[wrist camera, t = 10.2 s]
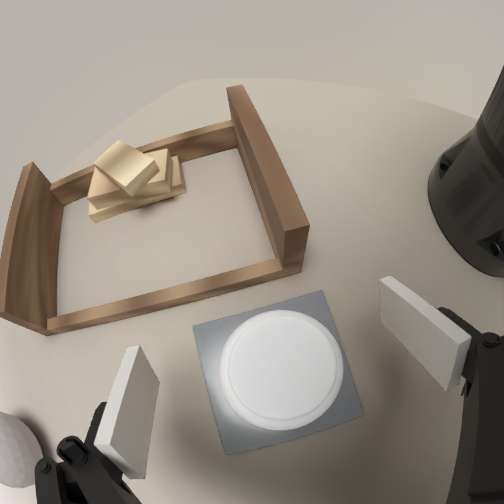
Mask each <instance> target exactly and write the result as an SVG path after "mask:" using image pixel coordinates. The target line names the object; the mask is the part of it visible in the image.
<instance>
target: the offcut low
mask: <svg viewBox="0 0 504 504" xmlns="http://www.w3.org/2000/svg"><path fill="white" fill-rule="evenodd" d="M171 158H172V161H173V173H172V193H171V194H166V195H161V196H156V197H151V198H147V199H142V200H137V201H133V202H128V203H124V204H119V205H115V206H111V207H106V208H102V209H98V210H97V209H96V208H95V207H94V206H93V205H92V203H91V202H90V203H89V217H90V218H91V219H92V220H93V221H94V222H95V223H97V222H99V221H102V220H105V219H107V218H110V217H113V216H116V215H119V214H122V213H124V212H127V211H130V210H133V209H136V208H139V207H142V206H145V205H148V204H151V203H154V202H158V201H161V200H164V199H167V198H170V197H174V196H177V195H180V194H183V193H185V187H184V181H183V175H182V168H181V164H180V161H179V158H178V156H174V157H171Z"/></svg>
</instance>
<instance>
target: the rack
mask: <svg viewBox="0 0 504 504" xmlns="http://www.w3.org/2000/svg"><path fill="white" fill-rule="evenodd" d="M226 89H227V95H228V101H229V107H230V113H231V119H232V120H230V121H226V122H222V123H218V124H214V125H210V126H206V127H202V128H199V129H195V130H191V131H188V132H185V133H181V134H178V135H175V136H171V137H168V138H165V139H162V140H159V141H156V142H153V143H150V144H147V145H144V146H141V147H138V148H135V149H136V150H138V151H140V152H142V153H144V154H145V153H149V152H153V151H158V150H162V149H167V148H168V151H169V153H170V156H171V157H174V156H178V158H179V161H180V163H181V162H184V161H188V160H191V159H195V158H198V157H202V156H205V155H209V154H213V153H216V152H220V151H224V150H228V149H232V148H236V147H237V148H238V151H239V153H240V156H241V159H242V162H243V165H244V167H245V170H246V173H247V176H248V179H249V181H250V184H251V187H252V190H253V193H254V196H255V198H256V201H257V204H258V207H259V210H260V213H261V216H262V219H263V221H264V224H265V227H266V230H267V233H268V236H269V239H270V242H271V245H272V248H273V251H274V254H275V257H276V259H273V260H269V261H265V262H262V263H258V264H255V265H251V266H247V267H244V268H240V269H236V270H233V271H229V272H226V273H222V274H218V275H215V276H211V277H207V278H203V279H200V280H196V281H192V282H189V283H185V284H181V285H177V286H174V287H170V288H166V289H162V290H159V291H155V292H151V293H147V294H144V295H140V296H136V297H132V298H128V299H124V300H121V301H117V302H113V303H109V304H105V305H101V306H97V307H93V308H89V309H86V310H82V311H78V312H74V313H70V314H66V315H62V316H58V317H57V313H56V288H57V263H58V249H59V238H60V229H61V220H62V213H63V206H64V205H66V204H68V203H70V202H73V201H75V200H78V199H80V198H82V197H85V196H87V195H88V193H89V189H90V185H91V181H92V177H93V173H94V170H95V165H92V166H89V167H87V168H85V169H83V170H80V171H78V172H76V173H74V174H71V175H69V176H67V177H65V178H63V179H61V180H59V181H57V182H54V183H52V184H51V183H50V182H49V181H48V180H47V178H46V177H45V176H44V175H43V173H42V172H41V171H40V170H39V168H38V167H37V166H36V165H35V164H34V162H31V163H29V164H28V165H26V166H25V167H23V170H22V173H21V176H20V179H19V182H18V185H17V189H16V192H15V195H14V199H13V202H12V206H11V210H10V214H9V218H8V223H7V227H6V231H5V236H4V241H3V247H2V253H1V259H0V317H2V318H4V319H6V320H8V321H11V322H13V323H15V324H18V325H20V326H23V327H25V328H28V329H30V330H33V331H35V332H38V333H40V334H43V335H46V336H49V335H53V334H58V333H63V332H68V331H72V330H77V329H81V328H86V327H90V326H95V325H99V324H104V323H108V322H112V321H117V320H121V319H125V318H129V317H134V316H138V315H142V314H146V313H150V312H154V311H158V310H162V309H166V308H170V307H174V306H178V305H182V304H186V303H190V302H194V301H198V300H201V299H205V298H209V297H213V296H217V295H220V294H224V293H228V292H231V291H235V290H239V289H242V288H246V287H250V286H253V285H257V284H260V283H264V282H267V281H271V280H275V279H278V278H282V277H285V276H288V275H292V274H295V273H299V272H301V268H302V263H303V258H304V253H305V248H306V243H307V237H308V232H309V227H310V224H309V222H308V219H307V217H306V215H305V212H304V210H303V208H302V206H301V203H300V201H299V199H298V197H297V194H296V192H295V190H294V188H293V186H292V183H291V181H290V179H289V177H288V175H287V173H286V170H285V168H284V166H283V164H282V162H281V160H280V158H279V156H278V153H277V151H276V149H275V147H274V145H273V143H272V141H271V139H270V137H269V135H268V133H267V131H266V129H265V127H264V125H263V123H262V121H261V119H260V117H259V115H258V113H257V111H256V109H255V107H254V105H253V104H252V102H251V100H250V98H249V96H248V94H247V92H246V90H245V88H244V87H243V85H237V86H232V87H228V88H226Z"/></svg>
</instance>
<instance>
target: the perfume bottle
mask: <svg viewBox="0 0 504 504" xmlns="http://www.w3.org/2000/svg"><path fill="white" fill-rule="evenodd" d="M42 458H43V454H42V450H41V447H40V445H39V443H38V440H37V438H36V437H35V435H34V434H33V433H32V432H31V430H30V429H29V428H28V427H27V426H26V425H25V424H24V423H23V422H22V421H20V420H19V419H17V418H15V417H14V416H12V415H9V414H6V413H3V412H0V483H2V484H4V485H7V486H9V487H13V488H24V487H27V486H30V485H33V484H34V483H35V466H36V464H37V462H38V461H39V460H40V459H42Z"/></svg>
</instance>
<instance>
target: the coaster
mask: <svg viewBox="0 0 504 504" xmlns="http://www.w3.org/2000/svg"><path fill="white" fill-rule="evenodd" d="M274 310H289V311H296V312H300V313H303V314H306V315H308V316H310V317H312V318H314V319H316V320H317V321H318V322H320V323H321V324H322V325H324V326H325V327H326V328H327V329H328V330H329V332H330V333H331V334H332V335H333V337H334V338H335V340H336V342H337V344H338V346H339V348H340V351H341V354H342V359H343V380H342V384H341V387H340V390H339V393H338V395H337V397H336V398H335V400H334V402H333V403H332V405H331V406H330V407H329V408H328V409H327V410H326V411H325V412H324V413H323V414H322V415H321V416H320V417H319V418H317V419H316V420H314V421H312V422H311V423H309V424H307V425H304V426H302V427H299V428H295V429H290V430H269V429H264V428H261V427H258V426H255V425H253V424H251V423H249V422H247V421H245V420H244V419H242V418H241V417H240V416H239V415H238V414H237V413H236V412H235V411H234V410H233V409H232V408H231V407H230V406H229V404H228V403H227V401H226V399H225V397H224V395H223V393H222V390H221V388H220V384H219V377H218V366H219V359H220V355H221V352H222V349H223V347H224V345H225V343H226V341H227V340H228V338H229V337H230V335H231V334H232V333H233V332H234V331H235V329H237V328H238V327H239V326H240V325H241V324H242V323H244V322H245V321H247V320H248V319H250V318H252V317H254V316H256V315H258V314H261V313H264V312H268V311H274ZM193 331H194V335H195V340H196V345H197V349H198V353H199V358H200V362H201V366H202V370H203V375H204V379H205V383H206V387H207V391H208V394H209V398H210V402H211V406H212V409H213V413H214V417H215V420H216V424H217V427H218V431H219V434H220V438H221V441H222V444H223V448H224V451H225V454H226V455H230V454H235V453H240V452H245V451H250V450H255V449H259V448H263V447H267V446H272V445H275V444H279V443H283V442H287V441H290V440H294V439H297V438H301V437H304V436H307V435H310V434H313V433H317V432H320V431H323V430H325V429H328V428H331V427H334V426H337V425H339V424H342V423H345V422H347V421H350V420H352V419H355V418H357V417H360V416H362V415H364V414H363V411H362V407H361V404H360V401H359V398H358V394H357V391H356V388H355V385H354V381H353V378H352V375H351V372H350V369H349V366H348V363H347V360H346V357H345V354H344V351H343V348H342V345H341V342H340V339H339V336H338V333H337V330H336V327H335V324H334V321H333V319H332V316H331V313H330V310H329V307H328V305H327V302H326V299H325V296H324V294H323V291H322V290H320V291H317V292H313V293H310V294H307V295H304V296H300V297H297V298H294V299H290V300H287V301H284V302H280V303H277V304H273V305H270V306H266V307H263V308H259V309H256V310H252V311H248V312H245V313H241V314H237V315H234V316H230V317H226V318H222V319H218V320H215V321H211V322H207V323H203V324H199V325H195V326H193Z"/></svg>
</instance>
